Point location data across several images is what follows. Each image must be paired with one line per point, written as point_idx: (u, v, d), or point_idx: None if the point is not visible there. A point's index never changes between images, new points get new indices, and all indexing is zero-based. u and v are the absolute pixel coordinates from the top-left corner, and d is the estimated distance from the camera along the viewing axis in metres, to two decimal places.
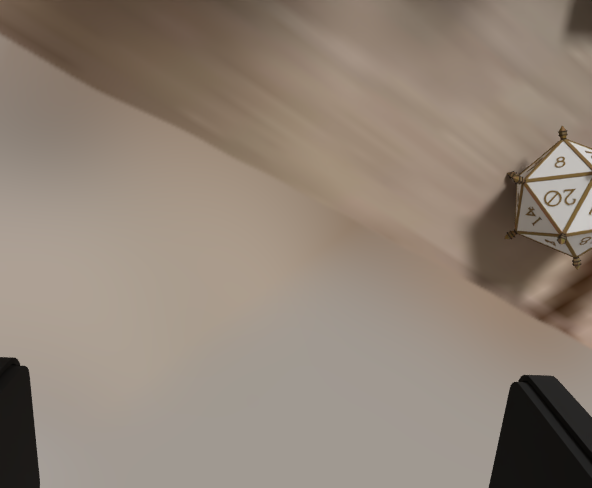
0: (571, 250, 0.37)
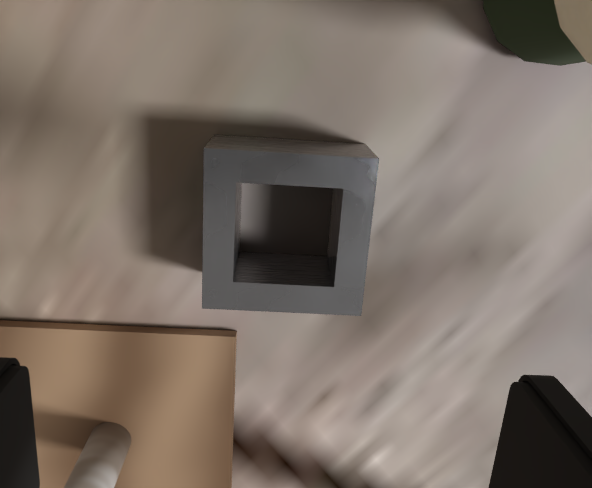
0: None
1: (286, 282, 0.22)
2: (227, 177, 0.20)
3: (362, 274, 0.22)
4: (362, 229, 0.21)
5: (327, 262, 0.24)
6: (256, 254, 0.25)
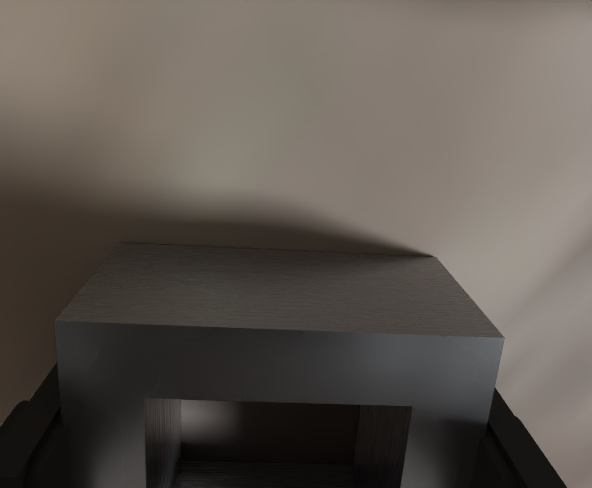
0: None
1: None
2: (121, 388, 0.08)
3: None
4: None
5: None
6: (214, 469, 0.12)
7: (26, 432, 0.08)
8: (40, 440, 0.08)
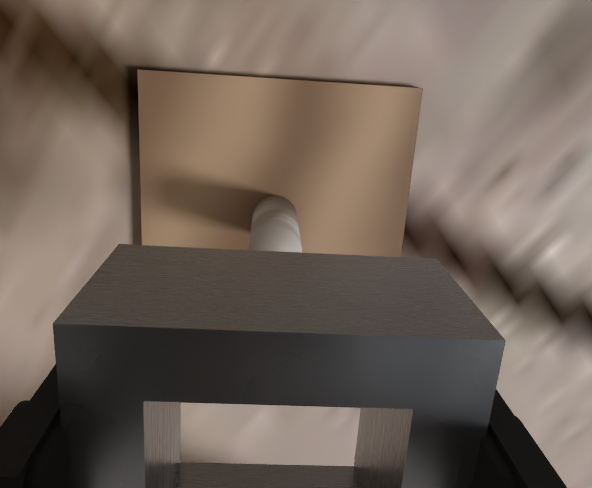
0: None
1: None
2: (120, 390, 0.08)
3: None
4: None
5: None
6: (214, 470, 0.12)
7: (26, 432, 0.08)
8: (40, 440, 0.08)
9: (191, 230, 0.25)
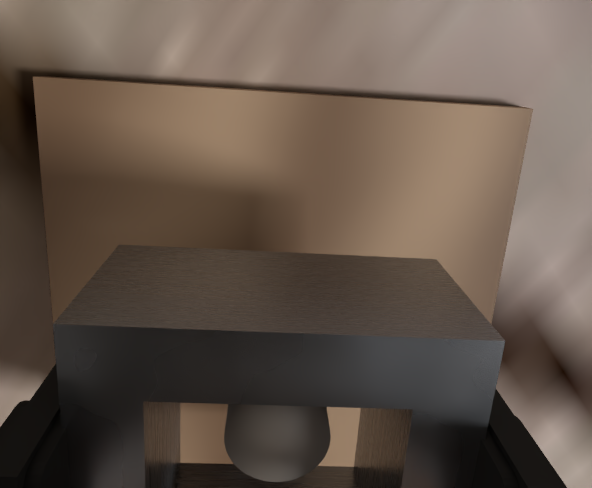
0: None
1: None
2: (120, 391, 0.08)
3: None
4: None
5: None
6: (213, 471, 0.12)
7: (26, 432, 0.08)
8: (39, 440, 0.08)
9: None
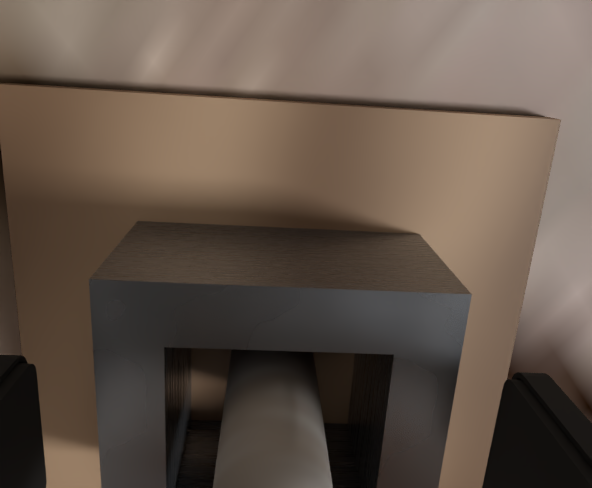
0: None
1: None
2: (144, 338, 0.09)
3: None
4: (431, 430, 0.10)
5: (349, 443, 0.14)
6: None
7: None
8: None
9: None
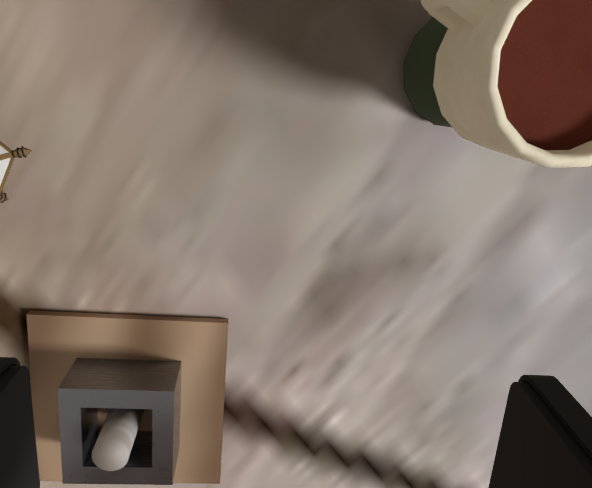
0: None
1: None
2: (74, 404, 0.31)
3: (170, 459, 0.33)
4: (167, 432, 0.32)
5: None
6: None
7: None
8: None
9: None
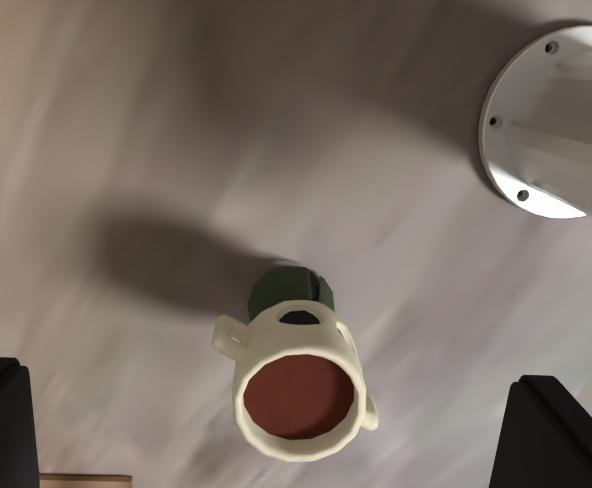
0: None
1: None
2: None
3: None
4: None
5: None
6: None
7: None
8: None
9: None
